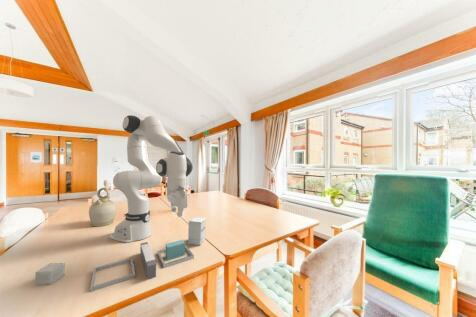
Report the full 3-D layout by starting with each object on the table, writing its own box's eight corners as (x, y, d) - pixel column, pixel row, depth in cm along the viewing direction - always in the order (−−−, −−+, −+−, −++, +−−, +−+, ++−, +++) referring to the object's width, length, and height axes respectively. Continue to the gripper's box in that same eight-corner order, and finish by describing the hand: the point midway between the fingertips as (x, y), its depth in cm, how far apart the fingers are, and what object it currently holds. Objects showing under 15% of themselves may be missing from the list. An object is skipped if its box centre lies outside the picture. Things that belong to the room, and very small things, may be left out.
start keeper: (194, 258, 83) (194, 255, 83) (163, 267, 76) (163, 265, 76) (184, 246, 94) (184, 243, 94) (157, 253, 87) (157, 251, 87)
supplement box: (200, 245, 95) (200, 222, 95) (187, 244, 97) (188, 221, 97) (205, 239, 102) (206, 217, 102) (193, 238, 104) (194, 216, 104)
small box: (50, 275, 70) (50, 262, 70) (65, 274, 70) (65, 262, 70) (34, 285, 64) (34, 271, 64) (50, 285, 65) (51, 271, 65)
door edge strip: (156, 276, 70) (156, 262, 70) (147, 279, 68) (147, 265, 68) (147, 251, 88) (147, 241, 88) (140, 253, 86) (140, 242, 86)
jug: (102, 219, 133) (103, 185, 133) (121, 220, 131) (121, 186, 131) (82, 226, 118) (82, 189, 118) (102, 228, 116) (103, 190, 116)
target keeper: (135, 277, 70) (135, 273, 70) (90, 291, 62) (90, 288, 62) (132, 260, 81) (132, 257, 81) (93, 270, 73) (93, 267, 73)
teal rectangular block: (167, 260, 81) (167, 247, 81) (165, 256, 84) (165, 244, 84) (184, 255, 86) (185, 243, 86) (182, 251, 89) (182, 239, 89)
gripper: (191, 187, 79) (191, 218, 79) (177, 182, 95) (176, 208, 95) (177, 188, 75) (176, 221, 75) (164, 183, 92) (164, 210, 92)
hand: (176, 213), depth 85 cm, fingers open, 8 cm apart
